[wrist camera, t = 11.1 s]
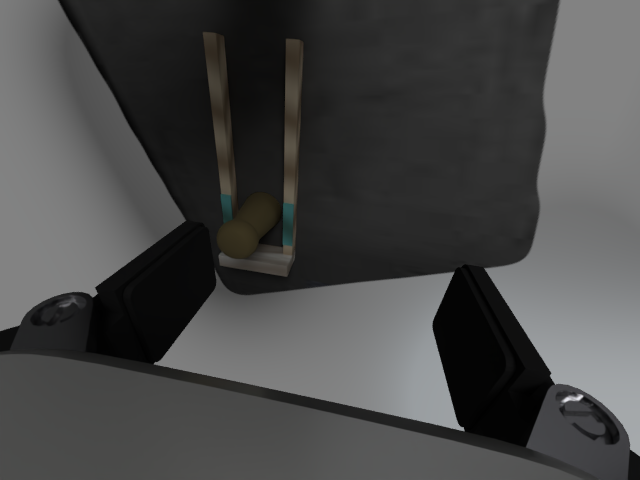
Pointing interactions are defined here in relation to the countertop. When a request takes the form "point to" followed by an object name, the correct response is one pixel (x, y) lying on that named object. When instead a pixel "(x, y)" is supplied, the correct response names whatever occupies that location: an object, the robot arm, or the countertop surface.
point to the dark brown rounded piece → (249, 226)
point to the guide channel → (265, 255)
